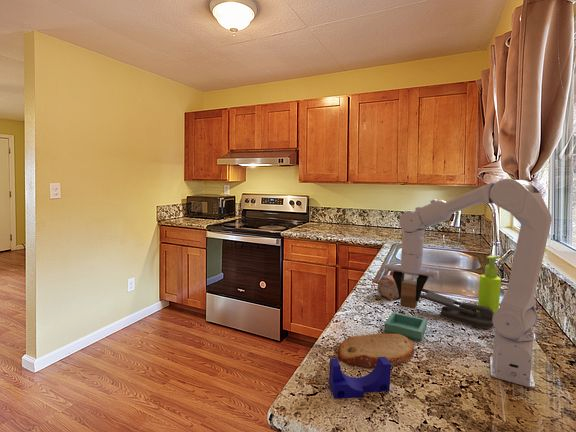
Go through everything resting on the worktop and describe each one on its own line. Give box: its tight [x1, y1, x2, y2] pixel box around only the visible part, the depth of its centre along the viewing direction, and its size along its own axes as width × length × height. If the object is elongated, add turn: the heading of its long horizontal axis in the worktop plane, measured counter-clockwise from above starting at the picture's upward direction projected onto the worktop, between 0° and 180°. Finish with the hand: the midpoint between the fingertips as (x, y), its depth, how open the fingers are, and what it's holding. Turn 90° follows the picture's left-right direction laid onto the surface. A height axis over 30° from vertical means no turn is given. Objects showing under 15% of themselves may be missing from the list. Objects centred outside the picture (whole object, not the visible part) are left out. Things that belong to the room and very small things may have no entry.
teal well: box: [383, 312, 428, 342], centre depth 95 cm, size 10×10×2 cm
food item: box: [376, 271, 414, 301], centre depth 124 cm, size 14×8×10 cm, turn 124°
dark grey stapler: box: [420, 288, 494, 330], centre depth 106 cm, size 9×7×25 cm
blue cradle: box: [328, 357, 392, 400], centre depth 66 cm, size 12×4×6 cm, turn 96°
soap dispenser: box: [477, 254, 504, 313], centre depth 106 cm, size 6×7×20 cm
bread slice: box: [336, 333, 415, 369], centre depth 82 cm, size 18×18×4 cm
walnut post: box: [399, 279, 418, 310], centre depth 94 cm, size 4×4×7 cm
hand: (409, 298), depth 94 cm, fingers closed on walnut post, 4 cm apart
